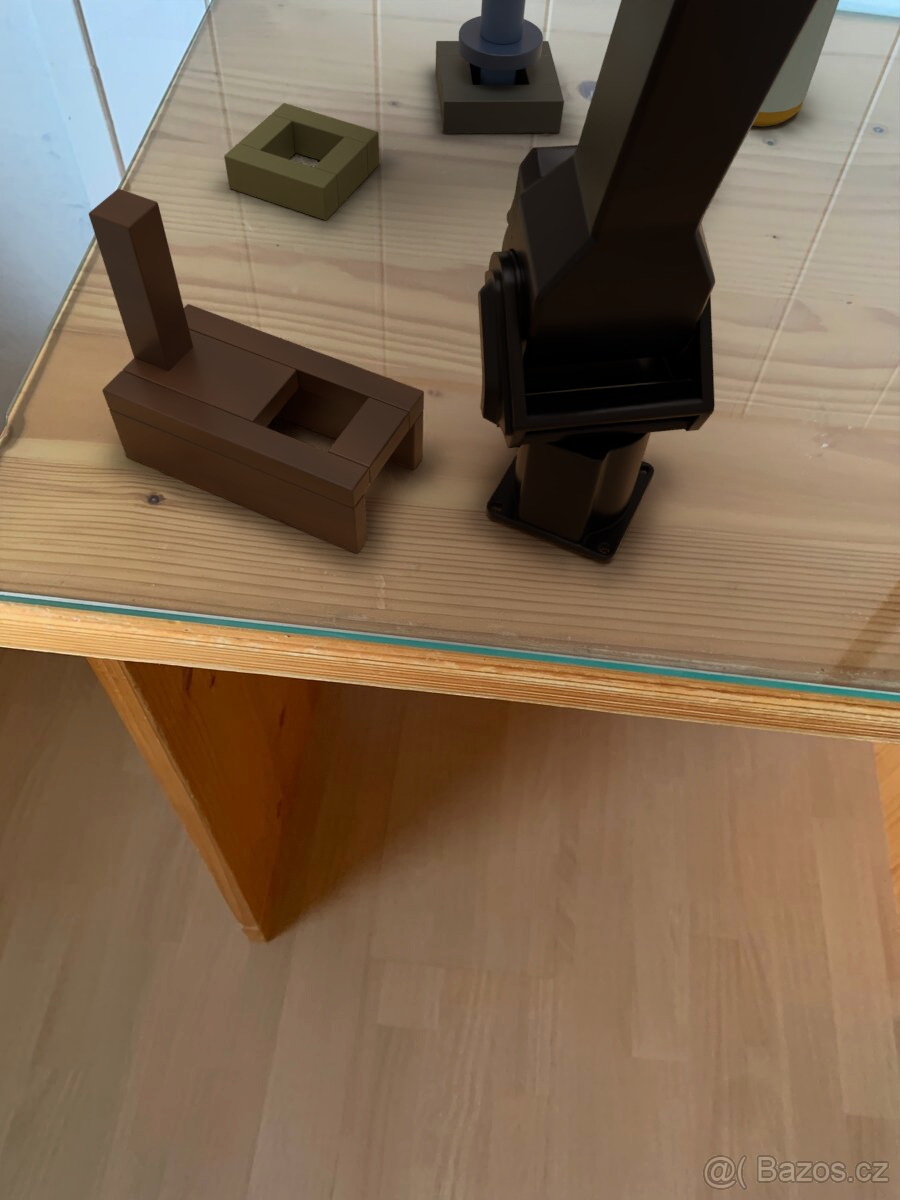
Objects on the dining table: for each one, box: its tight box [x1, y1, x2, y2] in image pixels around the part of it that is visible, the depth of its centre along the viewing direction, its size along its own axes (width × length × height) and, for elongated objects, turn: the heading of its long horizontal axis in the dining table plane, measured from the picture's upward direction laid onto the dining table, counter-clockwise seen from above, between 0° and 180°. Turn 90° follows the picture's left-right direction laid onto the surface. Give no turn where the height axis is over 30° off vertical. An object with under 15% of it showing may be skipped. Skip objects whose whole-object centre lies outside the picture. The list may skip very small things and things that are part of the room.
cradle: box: [223, 102, 380, 221], centre depth 59 cm, size 7×7×2 cm
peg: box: [457, 0, 544, 85], centre depth 62 cm, size 6×6×10 cm
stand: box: [88, 188, 425, 554], centre depth 42 cm, size 7×13×12 cm, turn 64°
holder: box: [434, 40, 565, 134], centre depth 65 cm, size 8×8×2 cm
